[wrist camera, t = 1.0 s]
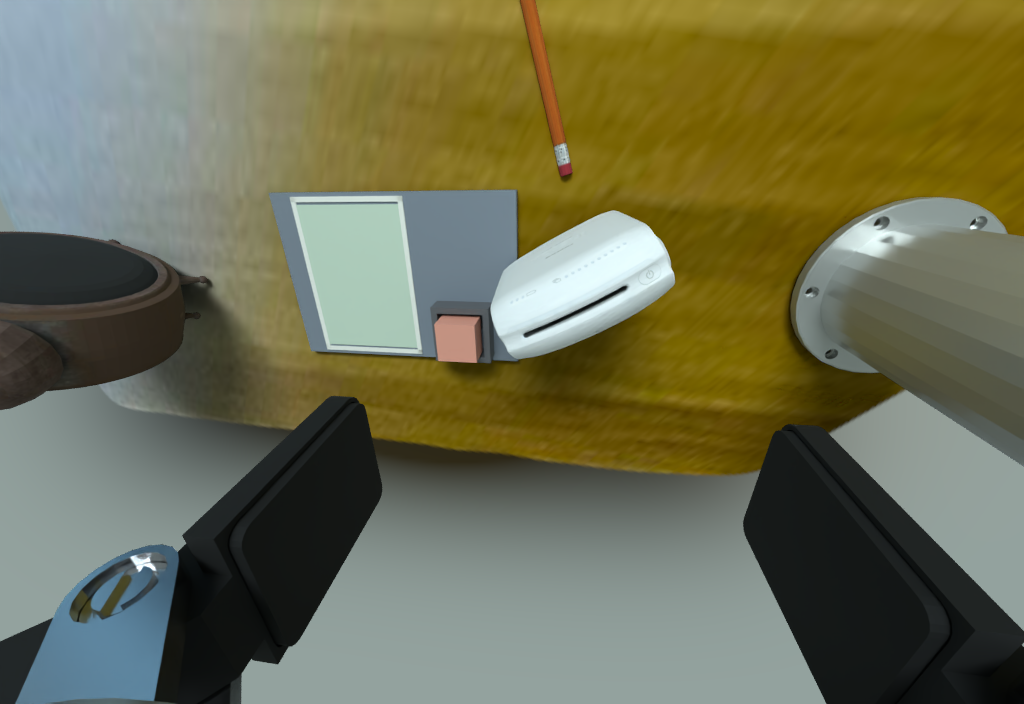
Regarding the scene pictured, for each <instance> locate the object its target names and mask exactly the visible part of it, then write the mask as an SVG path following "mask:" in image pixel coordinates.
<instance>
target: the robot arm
mask: <svg viewBox="0 0 1024 704" xmlns="http://www.w3.org/2000/svg"><path fill="white" fill-rule="evenodd" d="M875 221H876V222H875ZM807 290H808V291H807ZM790 311H791V323H792V326H793V328H794V331H795V334H796V336H797V338H798V339H799V341H800V342H801V344H802V345H803V346H804V347H805V348H806V349H807V350H808V351H809V352H810V353H811V354H813V355H814V356H815V357H817V358H818V359H819V360H821V361H822V362H824V363H826V364H828V365H831V366H833V367H835V368H838V369H841V370H846V371H851V372H858V373H879V372H880V373H882V374H883V375H885V376H886V377H888V378H889V379H891V380H892V381H894V382H895V383H897V384H898V385H900V386H901V387H903V388H904V389H906V390H908V391H909V392H911V393H912V394H914V395H915V396H917V397H918V398H920V399H922V400H923V401H924V402H926V403H927V404H929V405H930V406H932V407H934V408H935V409H937V410H938V411H940V412H941V413H943V414H944V415H946V416H947V417H949V418H951V419H952V420H953V421H955V422H956V423H958V424H960V425H961V426H963V427H964V428H966V429H967V430H969V431H970V432H972V433H973V434H975V435H976V436H978V437H980V438H981V439H983V440H984V441H986V442H987V443H989V444H990V445H992V446H993V447H995V448H996V449H998V450H999V451H1001V452H1002V453H1004V454H1005V455H1007V456H1008V457H1010V458H1011V459H1013V460H1015V461H1016V462H1018V463H1019V464H1021V465H1022V466H1024V236H1017V235H1010V234H1008V233H1007V231H1006V229H1005V226H1004V225H1003V224H1002V223H1001V222H1000V221H999V220H998V219H997V218H996V216H995V215H994V214H992V213H991V212H989V211H987V210H986V209H984V208H983V207H981V206H979V205H977V204H974V203H970V202H967V201H964V200H961V199H951V198H942V197H917V198H912V199H906V200H901V201H896V202H893V203H890V204H887V205H884V206H881V207H878V208H875V209H873V210H871V211H869V212H867V213H865V214H863V215H861V216H859V217H857V218H855V219H853V220H852V221H850V222H849V223H848V224H846V225H845V226H843V227H842V228H840V229H839V230H837V231H836V232H835V233H834V234H833V235H832V236H830V237H829V238H828V239H827V240H826V241H825V242H824V243H823V244H822V245H821V246H820V247H819V248H818V249H817V250H816V252H815V253H814V254H813V255H812V256H811V258H810V259H809V260H808V261H807V263H806V265H805V266H804V268H803V270H802V272H801V273H800V275H799V277H798V279H797V282H796V285H795V288H794V290H793V293H792V300H791V306H790ZM381 494H382V482H381V478H380V473H379V469H378V464H377V460H376V455H375V450H374V446H373V441H372V437H371V432H370V428H369V423H368V418H367V414H366V409H365V406H364V405H363V404H359V401H358V400H357V398H354V397H341V396H331V397H329V398H327V399H326V400H325V401H324V402H323V403H322V404H321V405H320V406H319V407H318V408H317V409H316V410H315V411H314V412H313V413H312V414H310V415H309V416H308V417H307V418H306V419H305V420H304V421H303V422H302V423H301V424H300V425H299V426H298V427H297V428H296V429H295V430H293V431H292V432H291V433H290V434H289V435H288V436H287V437H286V438H285V439H284V440H283V441H282V442H281V443H280V444H279V445H278V446H276V448H274V449H273V450H272V451H271V452H270V453H269V454H268V455H267V456H266V457H265V458H264V459H263V460H262V461H261V462H260V463H258V465H256V466H255V467H254V468H253V469H252V470H251V471H250V472H249V473H248V474H247V475H246V476H245V477H244V478H243V479H241V480H240V482H238V483H237V484H236V485H235V486H234V487H233V488H232V489H231V490H230V491H229V492H228V493H227V494H226V495H225V496H224V497H222V498H221V499H220V500H219V501H218V502H217V503H216V504H215V505H214V506H213V507H212V508H211V509H210V510H209V511H208V512H207V513H205V514H204V515H203V516H202V517H201V518H200V519H199V520H198V521H197V522H196V523H195V524H194V525H193V526H192V527H191V528H190V529H188V530H187V531H186V532H185V533H184V534H183V535H182V536H183V538H184V540H185V542H186V545H184V546H183V547H182V548H181V549H180V550H179V551H178V552H177V551H176V550H175V549H174V548H173V547H172V546H167V545H163V544H160V545H149V546H145V547H141V548H138V549H135V550H132V551H129V552H127V553H125V554H122V555H120V556H118V557H116V558H114V559H112V560H110V561H109V562H107V563H106V564H104V565H102V566H101V567H99V568H97V569H96V570H94V571H93V572H92V573H90V574H89V575H88V576H87V577H85V578H84V579H83V580H81V581H80V582H79V583H78V584H77V585H76V586H75V587H74V588H73V589H72V590H71V591H70V592H69V593H68V594H67V596H65V598H64V600H63V601H62V603H61V604H60V606H59V607H58V609H57V611H56V613H55V615H54V617H53V618H52V619H49V620H47V621H45V622H43V623H40V624H38V625H36V626H34V627H31V628H29V629H27V630H25V631H23V632H20V633H18V634H16V635H14V636H12V637H9V638H7V639H5V640H3V641H0V704H241V677H242V676H241V674H242V672H243V671H244V669H245V667H246V666H247V664H248V663H249V661H250V660H251V658H252V660H255V661H261V662H267V663H273V664H278V663H279V662H280V660H281V659H282V657H283V655H284V653H285V652H286V650H287V648H288V647H289V646H293V645H294V644H296V643H297V642H298V640H299V639H300V637H301V636H302V634H303V632H304V631H305V629H306V627H307V626H308V624H309V622H310V620H311V619H312V617H313V615H314V613H315V612H316V610H317V608H318V606H319V605H320V603H321V601H322V599H323V598H324V596H325V594H326V593H327V591H328V589H329V587H330V586H331V584H332V582H333V580H334V579H335V577H336V575H337V573H338V572H339V570H340V568H341V566H342V565H343V563H344V561H345V560H346V558H347V556H348V554H349V553H350V551H351V549H352V547H353V546H354V543H355V542H356V540H357V539H358V537H359V535H360V533H361V532H362V530H363V528H364V526H365V525H366V523H367V521H368V519H369V518H370V516H371V514H372V513H373V511H374V509H375V507H376V506H377V504H378V502H379V500H380V498H381ZM743 527H744V532H745V536H746V538H747V540H748V542H749V545H750V546H751V549H752V551H753V553H754V555H755V557H756V559H757V561H758V563H759V565H760V567H761V569H762V571H763V574H764V576H765V578H766V580H767V582H768V584H769V586H770V588H771V590H772V592H773V594H774V596H775V598H776V600H777V602H778V604H779V607H780V609H781V611H782V613H783V615H784V617H785V619H786V621H787V623H788V625H789V627H790V629H791V631H792V633H793V635H794V638H795V640H796V642H797V644H798V646H799V648H800V650H801V652H802V654H803V656H804V658H805V660H806V662H807V664H808V666H809V669H810V671H811V673H812V675H813V677H814V679H815V681H816V683H817V685H818V687H819V689H820V691H821V693H822V695H823V697H824V699H825V702H826V704H1024V647H1023V646H1022V644H1023V643H1024V631H1023V630H1022V629H1021V628H1020V627H1019V626H1018V625H1017V624H1016V623H1015V622H1014V621H1013V620H1012V619H1011V618H1010V617H1009V616H1008V615H1007V614H1006V613H1005V612H1004V611H1003V610H1002V609H1001V608H1000V607H999V606H998V605H997V604H996V603H995V602H994V601H993V600H992V599H991V598H990V597H989V596H988V595H987V593H986V592H985V591H983V590H982V588H981V587H980V586H979V585H978V584H977V583H976V582H975V581H974V580H972V578H971V577H970V576H969V575H968V574H967V573H966V572H965V571H964V570H963V569H962V568H961V567H960V566H959V565H958V564H957V563H956V562H955V561H954V560H953V559H952V558H951V557H950V556H949V555H948V554H947V553H946V552H945V551H944V550H943V549H942V548H941V547H940V546H939V545H938V544H937V543H936V542H935V541H934V540H933V539H932V538H931V537H930V536H929V535H928V534H927V533H926V532H925V531H924V530H923V529H922V528H921V527H920V526H919V525H918V524H917V523H916V522H915V521H914V520H913V519H912V518H911V517H910V516H909V515H908V514H907V513H906V512H905V511H904V510H903V509H902V508H901V507H900V506H899V505H898V504H897V503H896V502H895V500H893V498H892V497H890V496H889V494H888V493H886V492H885V490H884V489H883V488H882V487H881V486H880V485H879V484H878V483H877V482H876V481H875V480H874V479H873V478H872V477H871V476H870V475H869V474H868V473H867V472H866V471H865V470H864V469H863V468H862V467H861V466H860V465H859V464H858V463H857V462H856V461H855V460H854V459H853V458H852V457H851V456H850V455H849V454H848V453H847V452H846V451H845V450H844V449H843V448H842V447H841V446H840V445H839V444H838V443H837V442H836V441H835V440H834V439H833V438H832V437H831V436H830V435H829V434H828V433H827V432H826V431H825V430H824V429H823V428H821V427H818V426H808V425H792V424H788V425H785V426H784V427H783V428H782V430H781V431H776V432H775V433H774V434H773V436H772V439H771V442H770V445H769V448H768V451H767V454H766V457H765V459H764V462H763V465H762V468H761V471H760V474H759V477H758V480H757V482H756V485H755V488H754V491H753V494H752V497H751V500H750V503H749V506H748V509H747V511H746V514H745V517H744V521H743Z"/></svg>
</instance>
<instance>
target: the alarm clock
mask: <svg viewBox="0 0 1024 704" xmlns="http://www.w3.org/2000/svg"><path fill="white" fill-rule="evenodd" d="M207 281H208V279H207V278H206V277H205V276H200V277H189V276H180V275H178V274H177V273H176V271H175V270H174V269H173V268H172V267H171V266H170V265H168V264H167V263H166V262H164V261H162V260H161V259H159V258H157V257H155V256H152V255H150V254H148V253H145V252H142V251H139V250H136V249H133V248H131V247H128V246H124V245H121V244H119V243H118V242H117V241H116V240H113V239H112V240H109V241H104V240H99V239H94V238H88V237H82V236H74V235H66V234H55V233H40V232H0V410H3V409H9V408H13V407H16V406H18V405H21V404H23V403H26V402H28V401H30V400H33V399H35V398H37V397H38V396H40V395H41V394H43V393H44V392H46V391H53V390H64V389H72V388H81V387H87V386H93V385H98V384H103V383H107V382H111V381H115V380H119V379H123V378H126V377H129V376H132V375H135V374H138V373H141V372H143V371H146V370H148V369H150V368H152V367H154V366H156V365H158V364H160V363H162V362H163V361H165V360H166V359H168V358H169V357H170V356H172V355H173V354H174V353H175V352H176V351H177V349H178V348H179V347H180V345H181V343H182V340H183V330H184V322H185V319H186V318H195V319H198V318H200V314H199V313H197V312H196V313H193V314H192V313H185V304H184V299H183V295H182V290H181V285H185V284H191V283H197V282H201V283H206V282H207Z"/></svg>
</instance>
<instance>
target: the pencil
mask: <svg viewBox="0 0 1024 704" xmlns="http://www.w3.org/2000/svg"><path fill="white" fill-rule="evenodd" d="M520 2H521V6H522V11H523V15H524V19H525V24H526V28H527V32H528V37H529V41H530V45H531V50H532V54H533V58H534V63H535V67H536V71H537V76H538V80H539V84H540V89H541V93H542V98H543V102H544V106H545V111H546V115H547V119H548V124H549V128H550V132H551V137H552V141H553V145H554V150H555V154H556V158H557V163H558V167H559V171H560V176H561V177H562V176H565V175H568V174H571V173H572V168H571V163H570V158H569V154H568V149H567V145H566V140H565V135H564V131H563V126H562V122H561V117H560V113H559V108H558V103H557V99H556V94H555V90H554V85H553V80H552V76H551V71H550V67H549V62H548V58H547V53H546V48H545V44H544V39H543V35H542V30H541V25H540V21H539V16H538V12H537V7H536V2H535V0H520Z"/></svg>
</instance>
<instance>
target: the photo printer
mask: <svg viewBox="0 0 1024 704" xmlns="http://www.w3.org/2000/svg"><path fill="white" fill-rule="evenodd" d="M674 284H675V277H674V272H673V271H672V269H671V261H670V257H669V255H668V252H667V250H666V248H665V246H664V244H663V242H662V241H661V240H660V239H659V238H658V237H657V236H655V234H654V233H653V231H652V230H651V229H650V228H649V227H648V226H647V225H646V224H644V223H642V222H640V221H638V220H636V219H634V218H631V217H629V216H627V215H625V214H623V213H620V212H618V211H615V210H613V211H609V212H606V213H603V214H600V215H598V216H596V217H593V218H591V219H589V220H587V221H585V222H583V223H582V224H580V225H578V226H576V227H574V228H572V229H570V230H568V231H566V232H564V233H562V234H561V235H559V236H557V237H555V238H553V239H552V240H550V241H548V242H546V243H544V244H543V245H541V246H539V247H538V248H536V249H534V250H532V251H531V252H529V253H527V254H526V255H524V256H523V257H521V258H519V259H518V260H516V261H515V262H513V263H512V264H511V265H509V266H508V267H507V268H506V269H505V270H504V271H503V273H502V276H501V278H500V281H499V284H498V286H497V289H496V292H495V295H494V298H493V301H492V304H491V308H490V309H491V317H492V321H493V324H494V327H495V329H496V332H497V334H498V336H499V338H500V339H501V341H502V342H503V343H504V344H505V346H506V349H507V351H508V353H509V354H510V355H511V356H513V357H514V358H516V359H523V358H530V357H535V356H540V355H544V354H547V353H550V352H553V351H556V350H559V349H561V348H564V347H567V346H569V345H572V344H574V343H577V342H579V341H581V340H584V339H586V338H588V337H591V336H593V335H595V334H597V333H599V332H602V331H604V330H606V329H608V328H610V327H612V326H614V325H616V324H618V323H619V322H621V321H623V320H625V319H627V318H629V317H631V316H632V315H634V314H636V313H638V312H639V311H641V310H643V309H644V308H645V307H647V306H648V305H650V304H651V303H653V302H654V301H656V300H657V299H658V298H660V297H661V296H662V295H664V294H665V293H666V292H667V291H668V290H669V289H670V288H671V287H673V285H674Z"/></svg>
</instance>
